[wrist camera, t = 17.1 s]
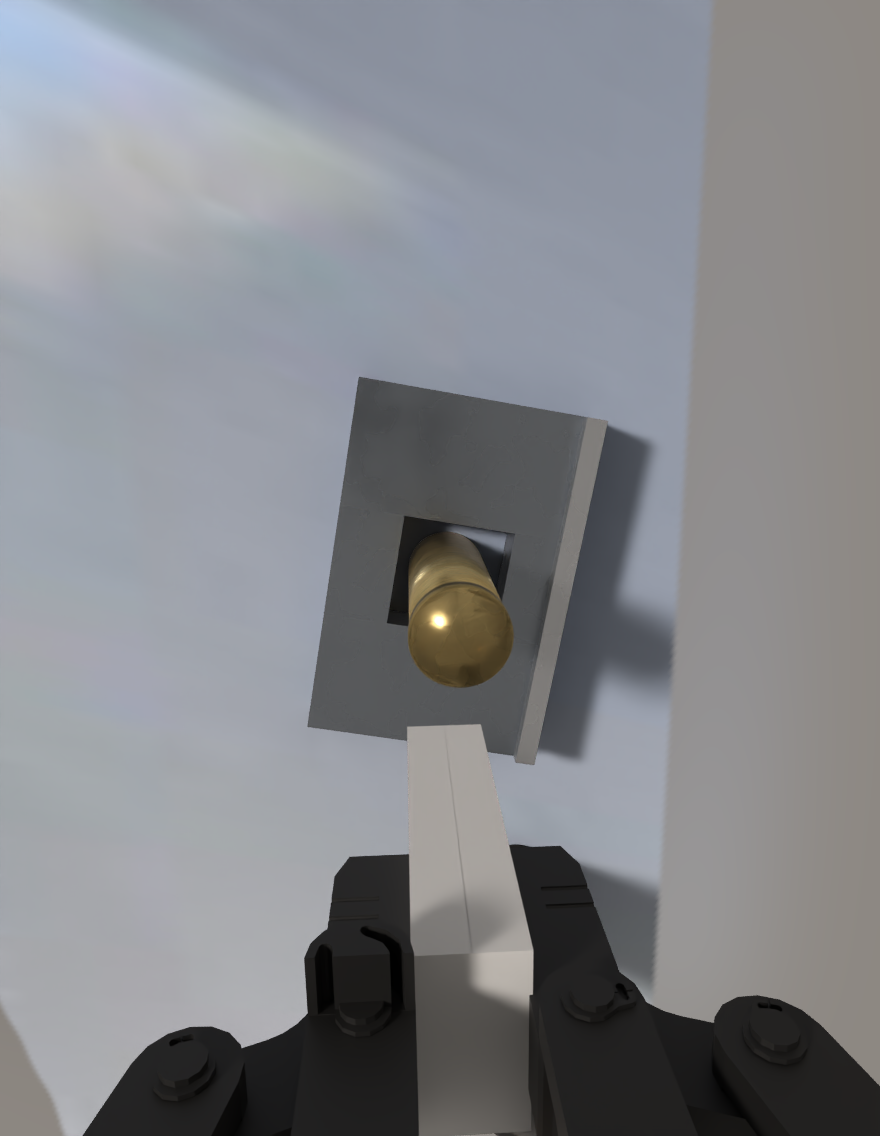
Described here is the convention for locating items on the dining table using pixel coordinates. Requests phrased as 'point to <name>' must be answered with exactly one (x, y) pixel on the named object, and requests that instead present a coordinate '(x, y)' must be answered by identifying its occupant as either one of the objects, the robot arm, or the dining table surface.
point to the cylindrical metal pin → (455, 613)
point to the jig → (466, 497)
